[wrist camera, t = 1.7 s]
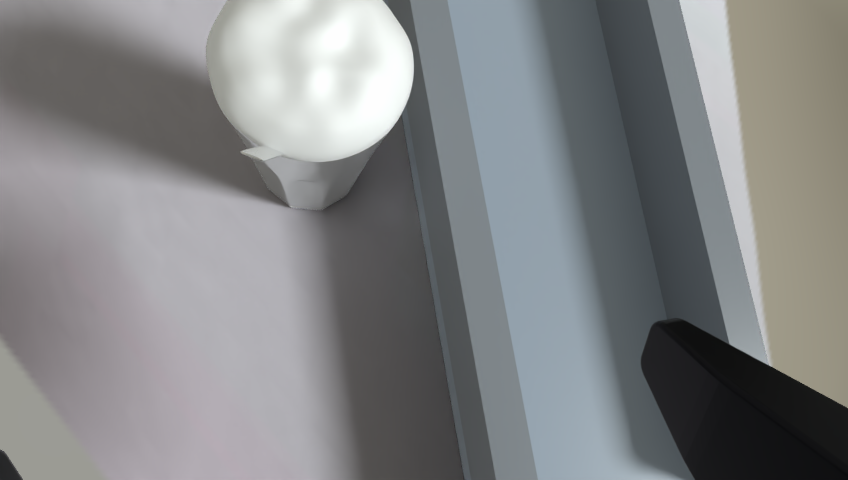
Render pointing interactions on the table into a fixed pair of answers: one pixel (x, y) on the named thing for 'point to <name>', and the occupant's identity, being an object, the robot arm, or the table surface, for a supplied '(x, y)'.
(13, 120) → the table surface
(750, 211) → the table surface
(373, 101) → the milkshake
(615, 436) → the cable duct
